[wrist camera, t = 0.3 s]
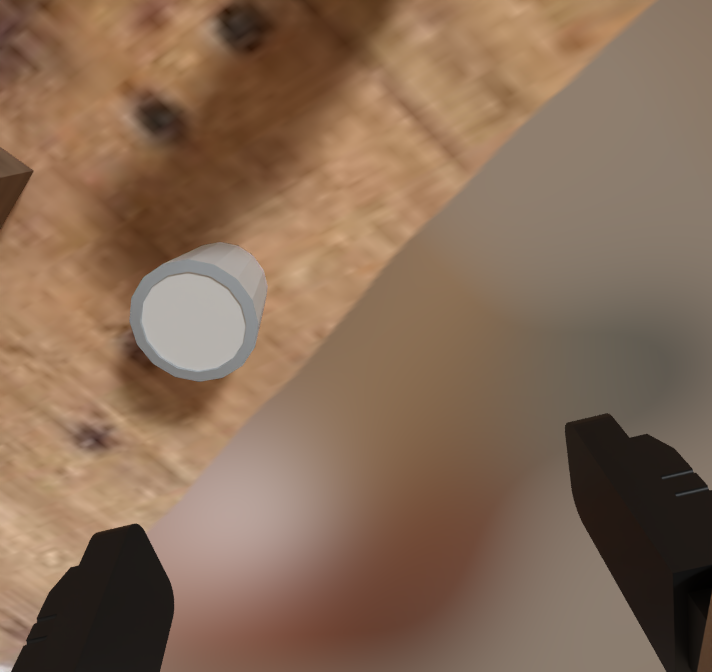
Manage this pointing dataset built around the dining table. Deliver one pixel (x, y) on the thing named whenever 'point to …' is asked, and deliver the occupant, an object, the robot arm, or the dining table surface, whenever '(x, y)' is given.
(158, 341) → the white short cylinder
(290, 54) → the dining table surface
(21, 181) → the walnut plinth
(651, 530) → the robot arm
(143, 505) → the dining table surface
